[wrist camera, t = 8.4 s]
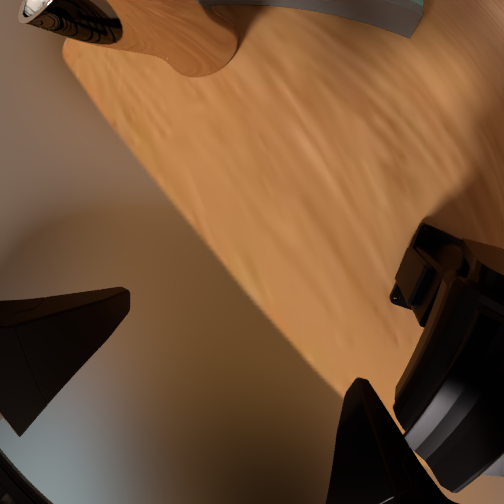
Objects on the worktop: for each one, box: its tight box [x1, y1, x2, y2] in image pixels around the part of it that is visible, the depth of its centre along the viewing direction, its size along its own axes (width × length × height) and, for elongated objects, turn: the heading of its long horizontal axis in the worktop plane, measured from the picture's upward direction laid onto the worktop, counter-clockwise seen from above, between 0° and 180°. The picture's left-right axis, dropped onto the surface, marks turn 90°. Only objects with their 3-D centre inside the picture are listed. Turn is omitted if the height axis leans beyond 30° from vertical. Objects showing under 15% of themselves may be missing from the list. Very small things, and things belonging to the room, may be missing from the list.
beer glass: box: [19, 0, 239, 77], centre depth 10 cm, size 7×7×15 cm
